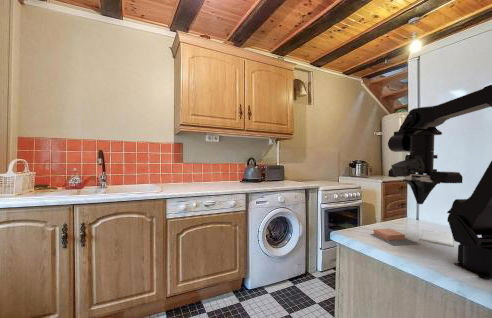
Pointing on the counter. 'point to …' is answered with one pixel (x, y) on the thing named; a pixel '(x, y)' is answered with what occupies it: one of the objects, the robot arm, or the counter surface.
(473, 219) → the robot arm
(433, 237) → the hard drive
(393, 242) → the mat
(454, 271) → the counter surface
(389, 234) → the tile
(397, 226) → the counter surface
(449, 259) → the counter surface
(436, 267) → the counter surface
